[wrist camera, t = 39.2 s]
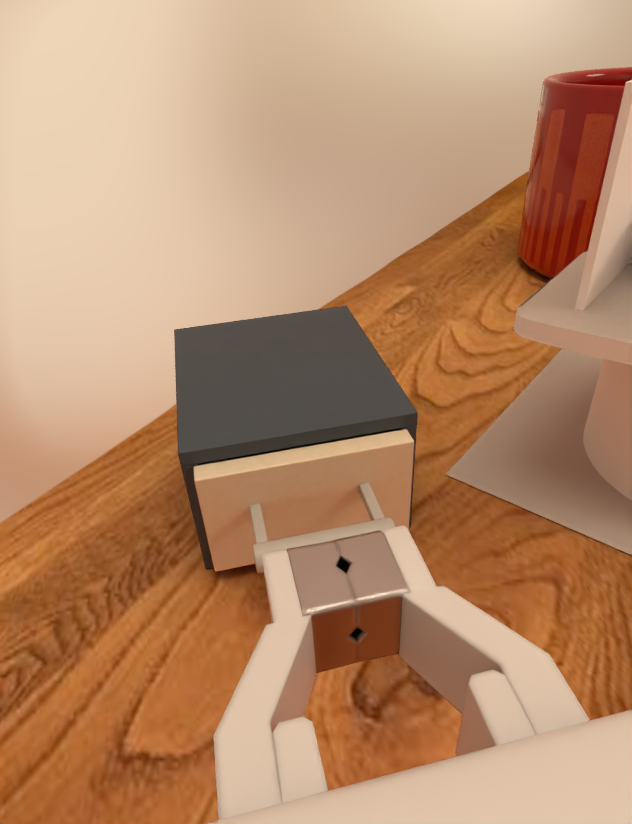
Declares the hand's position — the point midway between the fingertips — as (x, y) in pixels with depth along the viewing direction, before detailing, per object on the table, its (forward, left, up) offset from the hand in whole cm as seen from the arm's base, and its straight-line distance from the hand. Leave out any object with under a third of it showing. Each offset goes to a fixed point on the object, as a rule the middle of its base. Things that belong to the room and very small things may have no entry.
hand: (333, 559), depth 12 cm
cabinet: (+2, +23, -17) cm, 29 cm away
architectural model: (+30, +20, -17) cm, 40 cm away
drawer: (+2, +19, -16) cm, 25 cm away
